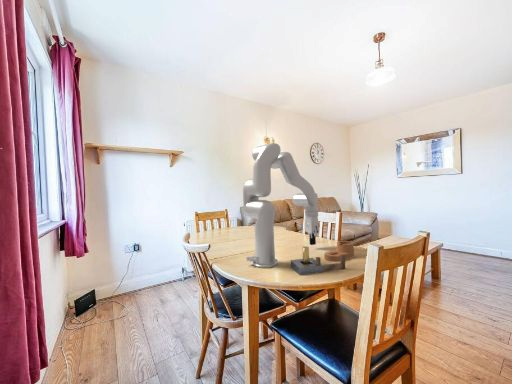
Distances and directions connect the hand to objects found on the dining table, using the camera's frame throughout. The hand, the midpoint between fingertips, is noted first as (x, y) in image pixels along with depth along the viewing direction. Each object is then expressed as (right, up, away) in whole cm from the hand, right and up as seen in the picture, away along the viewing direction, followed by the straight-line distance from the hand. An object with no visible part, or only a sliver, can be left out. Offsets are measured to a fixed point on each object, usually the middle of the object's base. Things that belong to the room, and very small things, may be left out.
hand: (312, 244), depth 139 cm
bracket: (+10, -3, -17) cm, 20 cm away
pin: (-11, -4, -32) cm, 34 cm away
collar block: (-11, -4, -32) cm, 34 cm away
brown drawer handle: (0, -4, -34) cm, 35 cm away
